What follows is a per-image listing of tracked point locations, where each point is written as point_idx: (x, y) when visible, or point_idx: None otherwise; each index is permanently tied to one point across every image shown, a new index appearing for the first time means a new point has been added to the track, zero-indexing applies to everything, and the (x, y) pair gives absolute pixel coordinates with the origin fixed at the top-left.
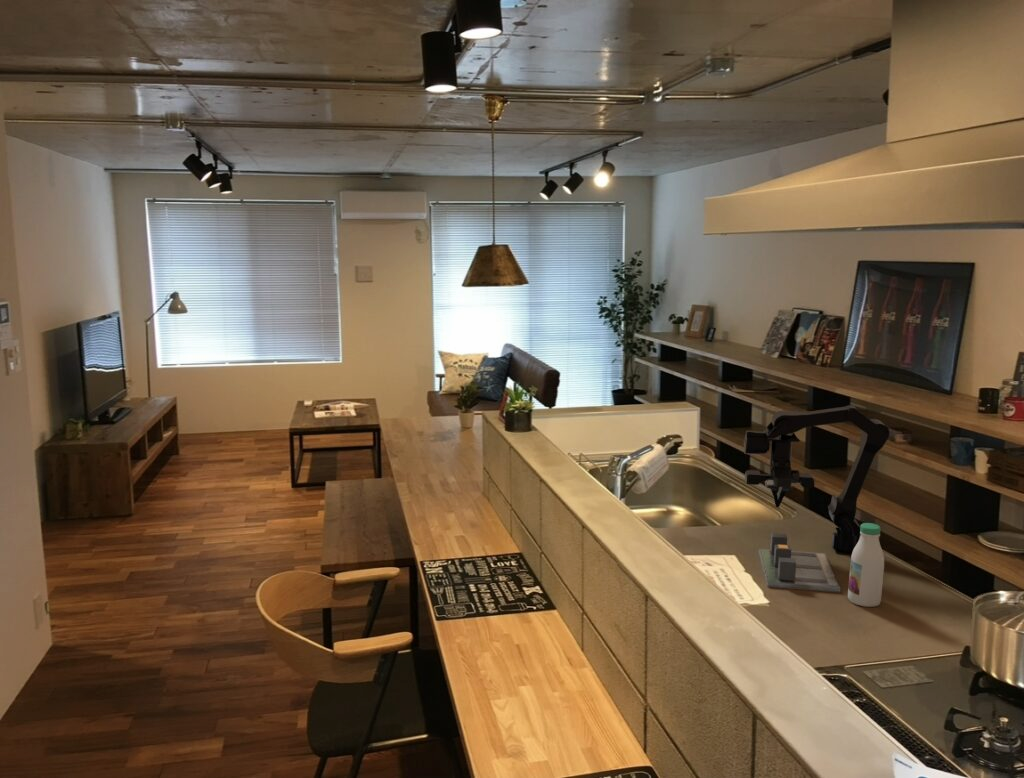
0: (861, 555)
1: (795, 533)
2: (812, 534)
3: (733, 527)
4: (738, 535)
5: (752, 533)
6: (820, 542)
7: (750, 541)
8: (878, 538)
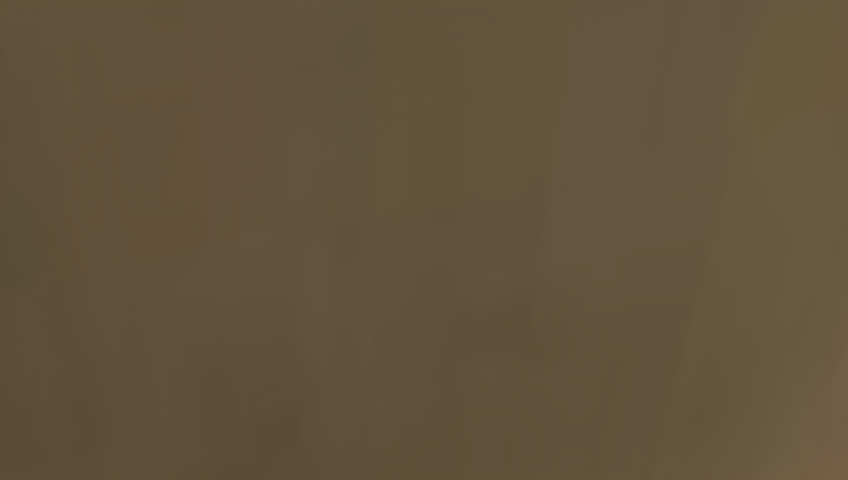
0: None
1: (269, 461)
2: (125, 469)
3: (818, 473)
4: (828, 317)
5: (667, 389)
6: (21, 326)
7: (737, 192)
8: None
